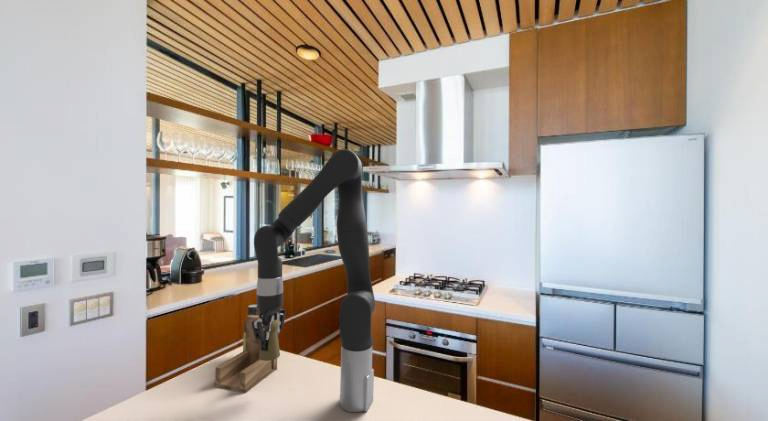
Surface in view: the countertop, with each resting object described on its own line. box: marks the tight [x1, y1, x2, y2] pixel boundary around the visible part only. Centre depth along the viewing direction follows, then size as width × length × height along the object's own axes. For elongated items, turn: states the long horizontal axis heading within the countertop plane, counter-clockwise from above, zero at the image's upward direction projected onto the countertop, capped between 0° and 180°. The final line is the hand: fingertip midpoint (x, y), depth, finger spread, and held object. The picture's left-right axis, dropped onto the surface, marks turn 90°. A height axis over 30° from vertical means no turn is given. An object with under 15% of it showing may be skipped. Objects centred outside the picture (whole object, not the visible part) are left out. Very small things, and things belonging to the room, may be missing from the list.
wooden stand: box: [213, 314, 278, 394], centre depth 108 cm, size 12×16×18 cm
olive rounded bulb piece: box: [259, 319, 281, 361], centre depth 96 cm, size 6×6×11 cm
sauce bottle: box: [242, 304, 259, 352], centre depth 122 cm, size 7×6×20 cm
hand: (269, 348), depth 96 cm, fingers closed on olive rounded bulb piece, 4 cm apart
